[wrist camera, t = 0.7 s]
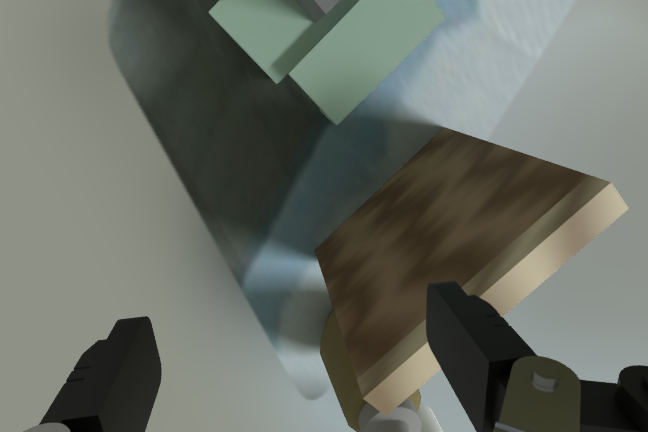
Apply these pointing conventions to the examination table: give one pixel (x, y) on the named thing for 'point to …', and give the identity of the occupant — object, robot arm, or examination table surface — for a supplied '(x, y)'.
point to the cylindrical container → (428, 420)
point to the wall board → (451, 249)
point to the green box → (329, 42)
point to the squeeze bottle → (371, 425)
